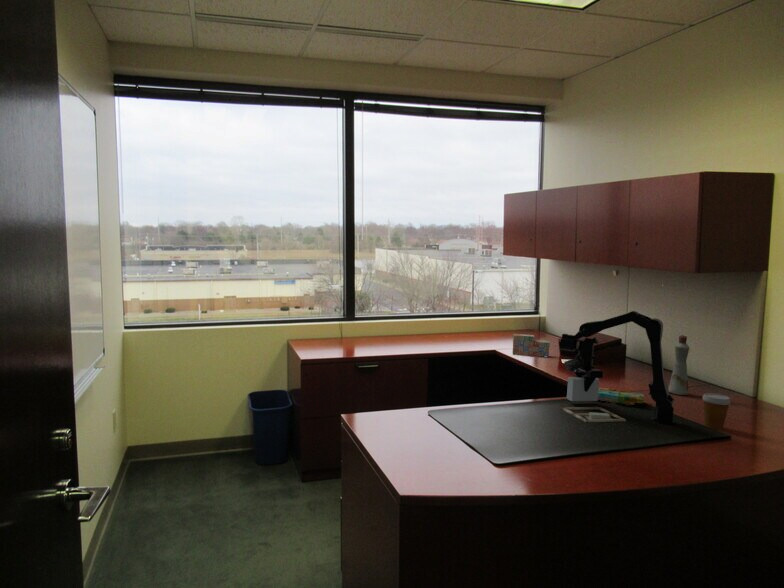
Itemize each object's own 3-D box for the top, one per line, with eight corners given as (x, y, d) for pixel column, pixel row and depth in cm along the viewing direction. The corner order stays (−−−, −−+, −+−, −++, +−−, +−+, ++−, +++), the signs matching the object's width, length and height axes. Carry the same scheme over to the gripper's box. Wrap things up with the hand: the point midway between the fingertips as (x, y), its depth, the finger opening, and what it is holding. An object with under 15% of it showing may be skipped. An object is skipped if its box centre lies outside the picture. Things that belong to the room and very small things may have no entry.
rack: (625, 424, 220) (626, 419, 219) (585, 425, 215) (585, 420, 215) (599, 411, 236) (599, 406, 236) (561, 412, 232) (561, 407, 232)
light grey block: (597, 400, 242) (599, 379, 241) (571, 401, 239) (573, 379, 238) (592, 398, 245) (593, 377, 245) (566, 398, 243) (568, 377, 242)
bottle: (662, 391, 277) (668, 333, 275) (677, 390, 280) (682, 333, 278) (677, 396, 269) (683, 336, 267) (692, 395, 272) (698, 336, 270)
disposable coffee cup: (713, 431, 217) (716, 399, 216) (693, 423, 226) (696, 393, 225) (733, 430, 219) (737, 399, 218) (713, 422, 228) (716, 392, 227)
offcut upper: (609, 419, 220) (610, 415, 220) (591, 418, 221) (591, 414, 221) (607, 417, 223) (607, 413, 223) (588, 416, 224) (589, 412, 224)
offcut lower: (613, 425, 221) (614, 419, 220) (588, 424, 220) (588, 419, 219) (608, 421, 225) (609, 416, 224) (583, 421, 224) (584, 416, 223)
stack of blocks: (547, 356, 357) (549, 336, 356) (548, 357, 351) (550, 337, 350) (512, 353, 361) (513, 333, 360) (512, 354, 355) (513, 334, 354)
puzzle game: (596, 385, 263) (644, 392, 255) (595, 395, 264) (643, 402, 256) (593, 390, 253) (643, 398, 245) (592, 401, 253) (642, 409, 245)
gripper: (556, 348, 248) (554, 384, 249) (580, 357, 229) (577, 396, 231) (580, 348, 250) (577, 384, 252) (605, 357, 232) (602, 395, 233)
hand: (583, 390), depth 242 cm, fingers closed on light grey block, 4 cm apart
